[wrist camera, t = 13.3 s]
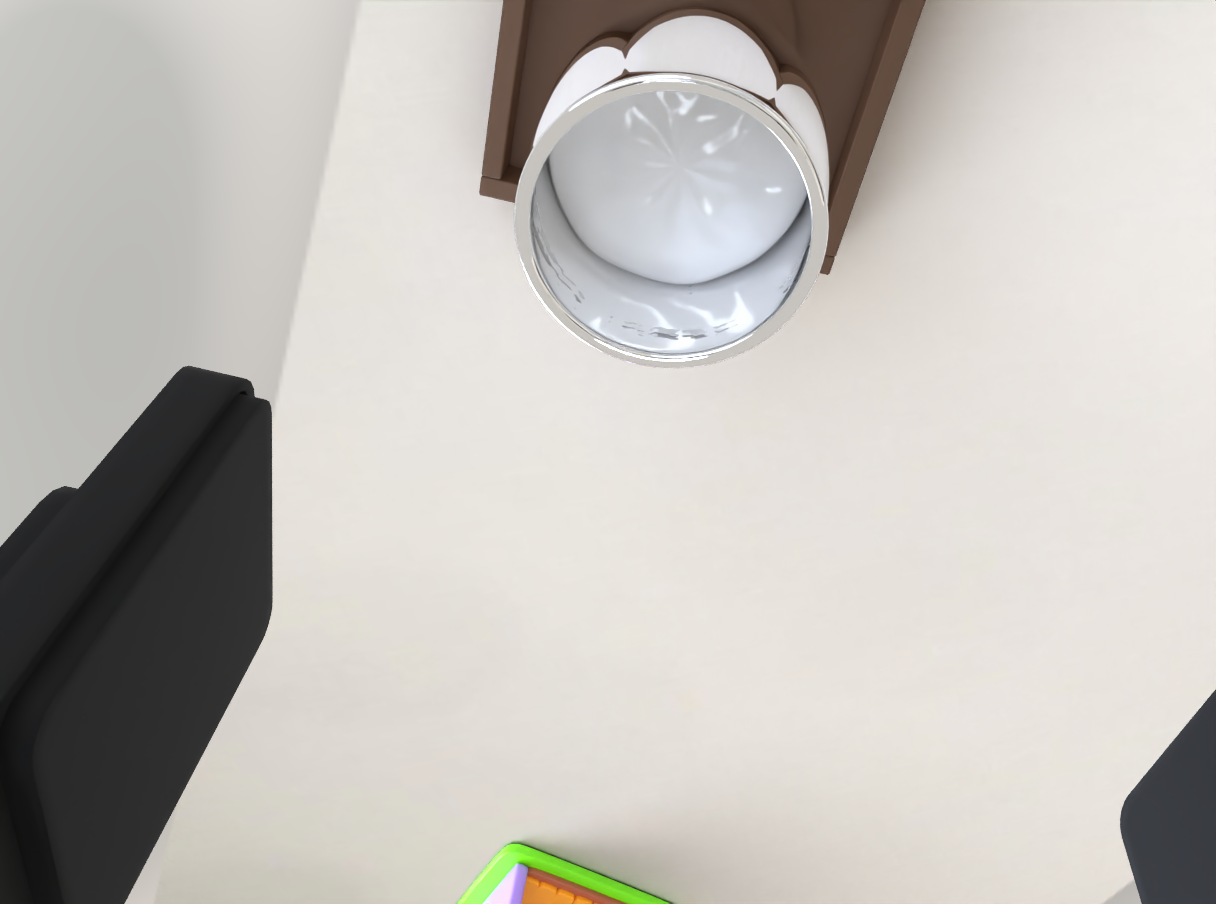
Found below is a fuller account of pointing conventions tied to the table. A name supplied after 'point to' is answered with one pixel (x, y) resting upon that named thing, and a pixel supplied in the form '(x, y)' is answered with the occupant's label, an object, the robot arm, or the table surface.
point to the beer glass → (678, 183)
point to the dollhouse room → (546, 882)
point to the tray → (826, 41)
